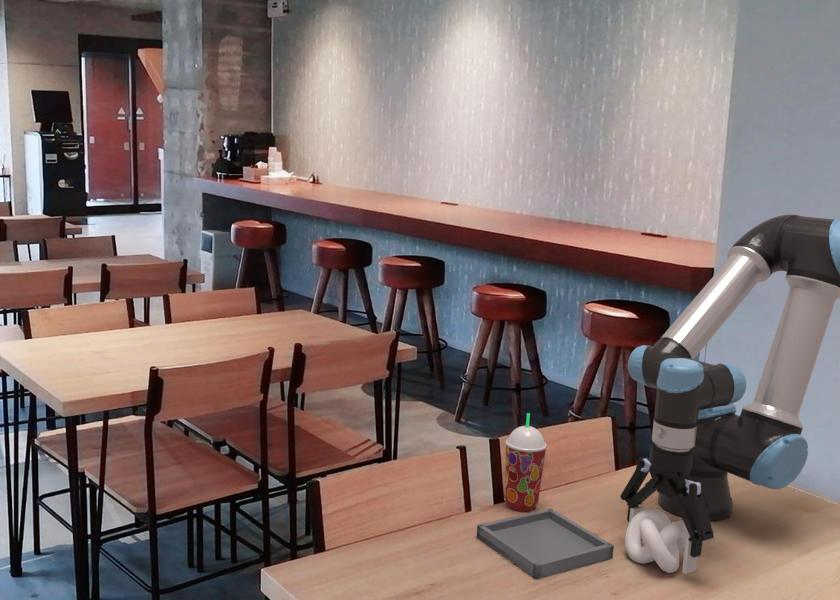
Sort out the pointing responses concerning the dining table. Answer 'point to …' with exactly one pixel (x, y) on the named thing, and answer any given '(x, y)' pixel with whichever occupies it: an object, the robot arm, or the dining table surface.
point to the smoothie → (524, 467)
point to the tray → (544, 543)
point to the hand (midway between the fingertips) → (660, 555)
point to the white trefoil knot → (656, 539)
